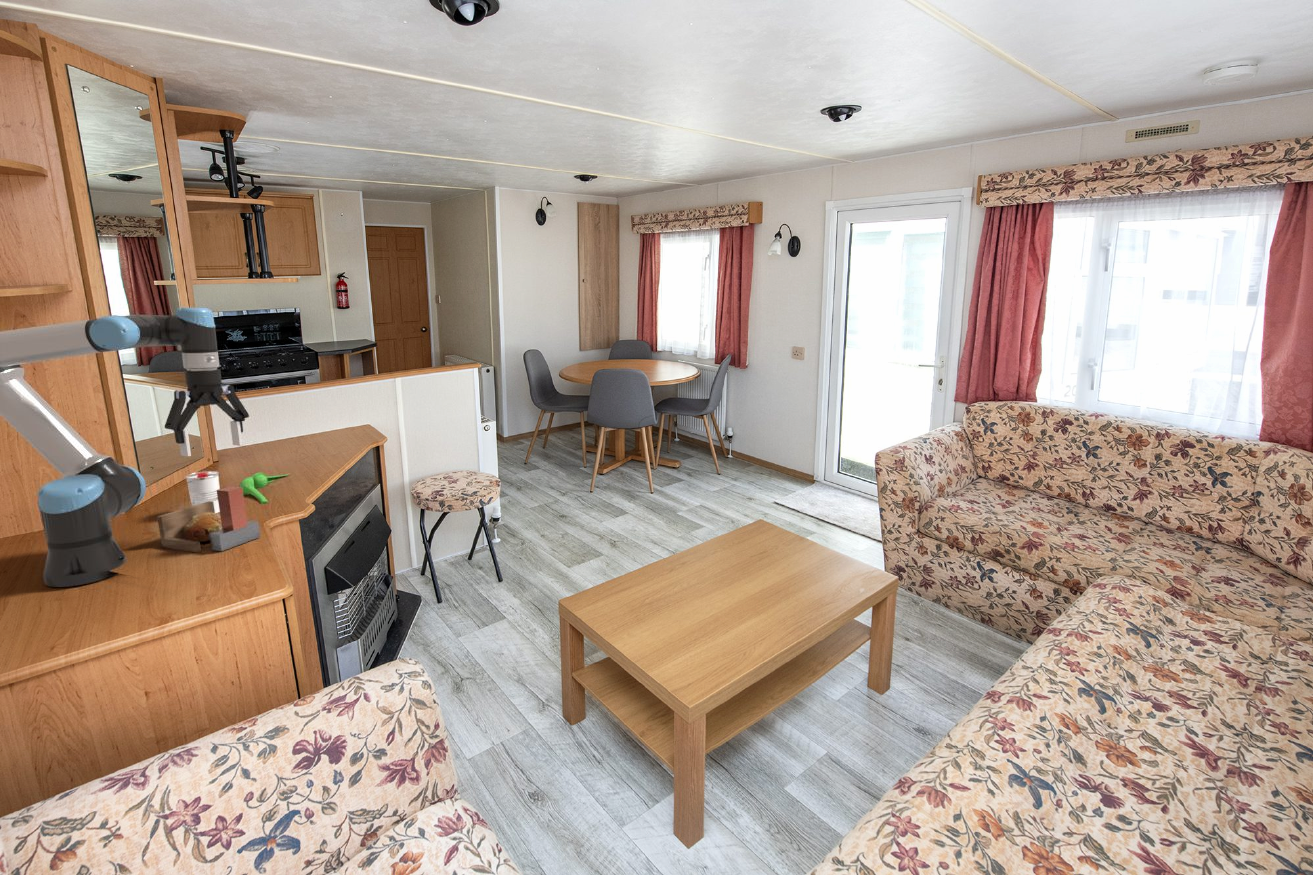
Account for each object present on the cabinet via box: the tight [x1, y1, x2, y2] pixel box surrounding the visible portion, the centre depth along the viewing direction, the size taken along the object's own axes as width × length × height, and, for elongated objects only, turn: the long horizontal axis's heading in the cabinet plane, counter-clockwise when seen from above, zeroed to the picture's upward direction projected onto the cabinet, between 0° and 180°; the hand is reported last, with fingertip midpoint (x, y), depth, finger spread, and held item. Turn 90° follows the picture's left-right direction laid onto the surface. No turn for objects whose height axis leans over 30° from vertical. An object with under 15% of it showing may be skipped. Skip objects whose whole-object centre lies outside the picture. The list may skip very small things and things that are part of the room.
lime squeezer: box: [238, 472, 290, 504], centre depth 217 cm, size 34×12×6 cm, turn 15°
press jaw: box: [209, 485, 261, 552], centre depth 167 cm, size 11×4×15 cm, turn 161°
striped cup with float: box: [184, 470, 221, 514], centre depth 194 cm, size 10×8×12 cm
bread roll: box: [184, 512, 222, 543], centre depth 172 cm, size 10×10×8 cm
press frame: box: [156, 501, 215, 553], centre depth 172 cm, size 15×14×8 cm
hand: (212, 450), depth 167 cm, fingers open, 13 cm apart
